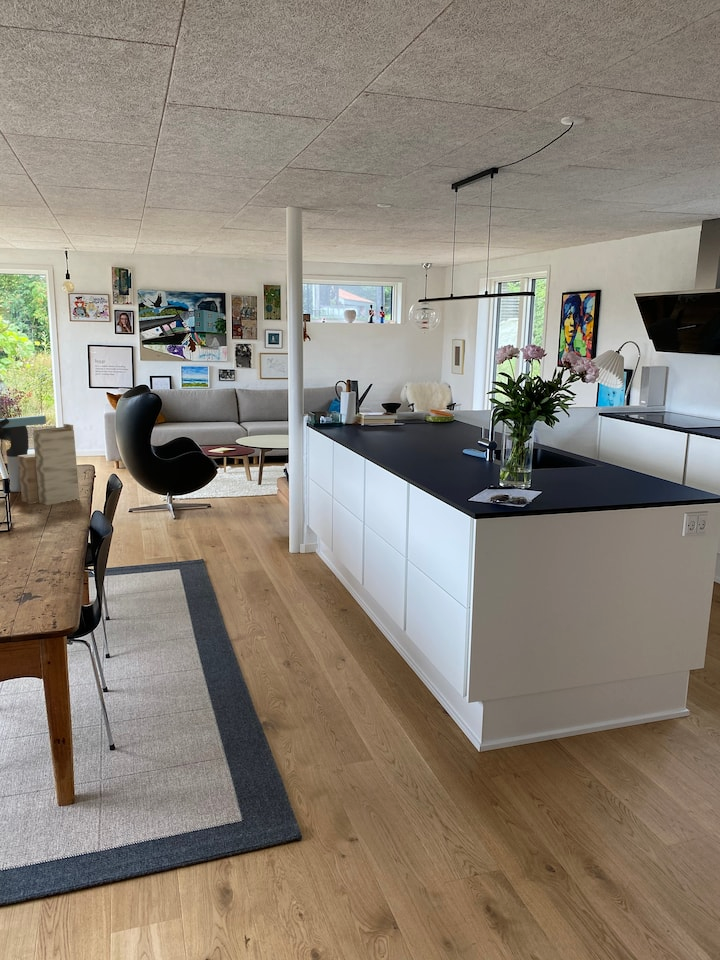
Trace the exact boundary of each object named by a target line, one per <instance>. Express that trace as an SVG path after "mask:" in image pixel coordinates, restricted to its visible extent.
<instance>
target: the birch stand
mask: <svg viewBox="0 0 720 960" xmlns="http://www.w3.org/2000/svg"><path fill="white" fill-rule="evenodd" d="M32 436H33V437H32V438H33V445H34V446H33V448H34V454H35V461H36V472H37V483H38V494H39V502H38V503H40V504H43V505H45V506H51V505H57V504H62V503H61V502H63V503H67V502H66V501H69V502H71V501H70V500H74V499H79V500H80V490H79V479H78V477H79V476H78V467H77V466H78V465H77V454H76V453H77V452H76V439H75V430H74V424H69V423H63V426H59V427H51V428H49V427H48V428H40V429H34V430H33V432H32ZM74 501H75V500H74Z"/></svg>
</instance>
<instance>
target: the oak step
mask: <svg viewBox="0 0 720 960" xmlns="http://www.w3.org/2000/svg"><path fill="white" fill-rule="evenodd" d="M18 464H19V474H20V485H21V495H20V496H21V501H22V502H25V503H27V504H30V505H31V504H35V503H39V494H38V483H37V472H36V461H35V453H27V455H19V456H18Z"/></svg>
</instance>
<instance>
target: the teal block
mask: <svg viewBox="0 0 720 960" xmlns="http://www.w3.org/2000/svg"><path fill="white" fill-rule="evenodd" d="M4 419H5V418H3V419H0V422H1V421H2V420H4ZM7 419H8V420H9V423H8V424H6V425H5V426H4V427H3V428H7V427H17V426H26V427H27V426H36V425H47V420H46V415H41V414H40V415H30V416H29V415H28V416H18V417H7Z"/></svg>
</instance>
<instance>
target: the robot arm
mask: <svg viewBox="0 0 720 960" xmlns="http://www.w3.org/2000/svg"><path fill="white" fill-rule="evenodd" d="M7 418H8V417H7ZM7 418H5V417H0V419H4V420H2V421H1V422H0V440H3V441H10V446H9V448H8V449H7V450H6V451H5V453H6V454H5V455H6V465H7V473H9V475H8V480H9V479H10V485H9V490H10V489H11V491H10V492H11V493H14V492H15V493H19V492H21V485H20V474H19V464H18V456H19V455H27V454H28V451H29V448H30V446H29V430H28V428H27V426H17V427H7V428H3V427H4V426H5V425H6V424H8V423H9V420H8V419H7Z"/></svg>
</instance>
